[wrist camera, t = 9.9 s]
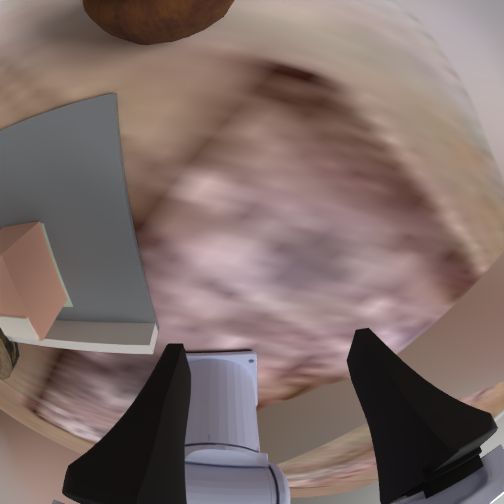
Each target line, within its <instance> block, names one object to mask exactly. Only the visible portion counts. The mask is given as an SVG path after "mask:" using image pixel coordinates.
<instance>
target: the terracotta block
mask: <svg viewBox="0 0 504 504" xmlns="http://www.w3.org/2000/svg"><path fill="white" fill-rule="evenodd" d="M66 301H67V296H66V294H65V292H64V289H63V287H62V284H61V282H60V279H59V276H58V274H57V271H56V268H55V266H54V263H53V260H52V257H51V254H50V251H49V248H48V245H47V242H46V239H45V236H44V233H43V229H42V226H41V222H40V221H37V222H30V223H24V224H18V225H13V226H7V227H3V228H2V229H1V230H0V328H1V329H2V331H3V333H4V334H5V336H10V337H16V338H23V339H30V340H39V341H43V340H44V338H45V336H46V335H47V333H48V331H49V329H50V328H51V326H52V324H53V322H54V321H55V319H56V317H57V316H58V314H59V312H60V311H61V309H62V307H63V306H64V304H65V303H66Z"/></svg>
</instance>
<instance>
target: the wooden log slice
mask: <svg viewBox="0 0 504 504" xmlns="http://www.w3.org/2000/svg"><path fill="white" fill-rule="evenodd" d="M18 358H19V351H18V345H17V342H14V341H9V339H8V338H7V336H5V334H4V333H3V331H2V329H1V328H0V379H2V380H3V379H6V378H9V376H10V374H11V372H12V370H13V368H14V366H15V365H16V363H17V360H18Z"/></svg>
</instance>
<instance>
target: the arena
mask: <svg viewBox="0 0 504 504" xmlns="http://www.w3.org/2000/svg"><path fill="white" fill-rule="evenodd" d="M37 221H40V222H41V226H42V229H43V233H44V236H45V239H46V242H47V245H48V248H49V251H50V254H51V257H52V260H53V263H54V266H55V268H56V271H57V274H58V276H59V279H60V282H61V284H62V287H63V289H64V292H65V294H66V296H67V301H66V303H65V304H64V306H63V307H62V309H61V311H60V312H59V314H58V316H57V317H56V319H55V321H54V322H53V324H52V326H51V328H50V329H49V331H48V333H47V335H46V336H45V338H44V340H43V341H39V340H30V339H23V338H16V337H10V336H7V338H8V339H9V341H14V342H20V343H26V344H33V345H40V346H47V347H55V348H64V349H73V350H84V351H96V352H110V353H130V354H153V352H154V347H155V343H156V339H157V334H158V330H159V325H158V322H157V319H156V315H155V312H154V308H153V305H152V301H151V298H150V294H149V290H148V286H147V282H146V278H145V274H144V270H143V266H142V262H141V258H140V253H139V249H138V244H137V240H136V235H135V230H134V225H133V220H132V215H131V209H130V204H129V198H128V192H127V186H126V179H125V173H124V165H123V158H122V150H121V141H120V132H119V121H118V109H117V94H116V93H111V94H107V95H103V96H99V97H95V98H91V99H87V100H83V101H80V102H76V103H73V104H70V105H66V106H63V107H60V108H57V109H54V110H51V111H48V112H45V113H42V114H40V115H37V116H34V117H31V118H29V119H26V120H24V121H21V122H19V123H16V124H14V125H12V126H9V127H7V128H5V129H3V130H0V230H1V229H2V228H3V227H7V226H13V225H18V224H24V223H30V222H37Z"/></svg>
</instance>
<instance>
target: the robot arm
mask: <svg viewBox="0 0 504 504" xmlns="http://www.w3.org/2000/svg"><path fill="white" fill-rule="evenodd" d="M250 359H252V360H250ZM347 364H348V368H349V372H350V376H351V380H352V383H353V385H354V388H355V391H356V393H357V396H358V398H359V401H360V403H361V406H362V409H363V411H364V414H365V417H366V419H367V422H368V425H369V429H370V433H371V437H372V442H373V446H374V451H375V457H376V463H377V470H378V478H379V490H380V502H381V504H392V503H393V504H491V503H492V502H493V501H495V500H496V499H497V498H498V497H500V496H501V495H502V494H503V493H504V449H503V447H502V445H499V446H498V447H496V448H495V449H494V450H492V451H491V452H489V453H487V454H486V455H485V456H483V457H482V458H480V456H479V454H480V453H481V452H482V450H481V448H480V446H481V445H482V444H483V443H484V442H485V441H486V440H488V439H489V438H490V437H491V436H492V435H493V434H494V433H495V432H496V431H497V428H498V427H497V425H496V423H495V421H494V419H493V417H492V415H491V414H490V413H488V412H485V411H482V410H480V409H477V408H474V407H472V406H469V405H467V404H465V403H463V402H461V401H459V400H457V399H455V398H453V397H451V396H449V395H448V394H446V393H444V392H443V391H441V390H439V389H438V388H436V387H435V386H433V385H432V384H431V383H429V382H428V381H426V380H425V379H424V378H422V377H421V376H420V375H419V374H417V373H416V372H415V371H414V370H413V369H411V368H410V367H409V366H408V365H407V364H405V363H404V362H403V361H402V360H401V359H400V358H399V357H398V356H397V355H396V354H395V353H394V352H393V351H392V350H391V349H389V348H388V347H387V346H386V345H385V344H384V343H383V342H382V341H381V340H380V339H379V338H378V337H377V336H376V335H375V334H374V333H373V332H372V331H371V330H370V329H369V328H365V329H358V330H356V331H355V335H354V338H353V341H352V345H351V348H350V351H349V355H348V358H347ZM256 406H257V355H256V353H255V352H254V351H242V352H221V353H185V349H184V346H183V344H168V345H167V346H166V348H165V350H164V352H163V354H162V356H161V358H160V360H159V361H158V363H157V365H156V367H155V369H154V370H153V372H152V374H151V376H150V377H149V379H148V381H147V382H146V384H145V386H144V387H143V389H142V390H141V392H140V393H139V395H138V396H137V398H136V399H135V401H134V402H133V403H132V405H131V406H130V407H129V409H128V410H127V411H126V413H125V414H124V415H123V416H122V417H121V419H120V420H119V421H118V422H117V423H116V424H115V425H114V427H113V428H112V429H111V430H110V431H109V432H108V433H107V434H106V435H105V436H104V437H103V438H102V439H101V440H100V441H99V442H98V443H96V444H95V445H94V446H93V447H92V448H91V449H90V450H89V451H87V452H86V453H85V454H84V455H82V456H81V457H80V458H78V459H77V460H75V461H74V462H73V463H71V464H70V465H69V466H68V469H67V471H66V475H65V480H64V484H63V490H62V493H63V494H64V495H65V496H66V497H68V498H70V499H72V500H74V501H76V502H78V503H80V504H290V490H289V485H288V481H287V479H286V476H285V475H284V473H283V472H282V471H281V470H280V469H279V467H278V466H277V465H275V464H272V463H268V455H267V453H260V446H259V438H258V437H259V436H258V427H257V416H256ZM405 498H406V499H405ZM400 500H401V501H400ZM52 504H64V503H61V502H59V501H56V500H53V503H52Z"/></svg>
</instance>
